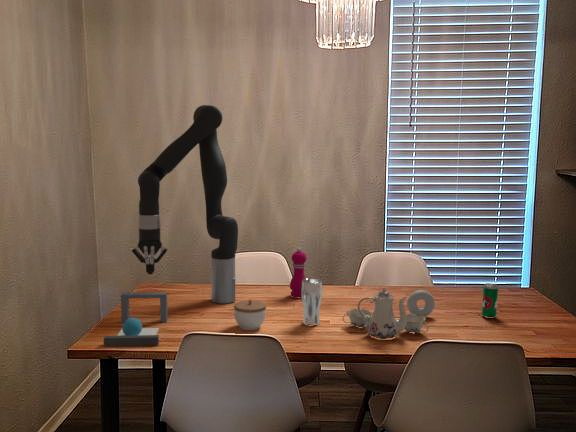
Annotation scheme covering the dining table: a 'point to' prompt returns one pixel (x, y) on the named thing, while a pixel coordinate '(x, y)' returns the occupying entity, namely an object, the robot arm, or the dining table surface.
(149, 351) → the dining table surface
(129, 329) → the ball
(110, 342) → the wall
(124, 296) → the bridge
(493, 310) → the soda can
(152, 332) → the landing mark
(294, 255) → the pepper mill
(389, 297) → the chinaware
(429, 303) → the donut
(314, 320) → the beer glass
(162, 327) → the dining table surface
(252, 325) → the lidded jar
